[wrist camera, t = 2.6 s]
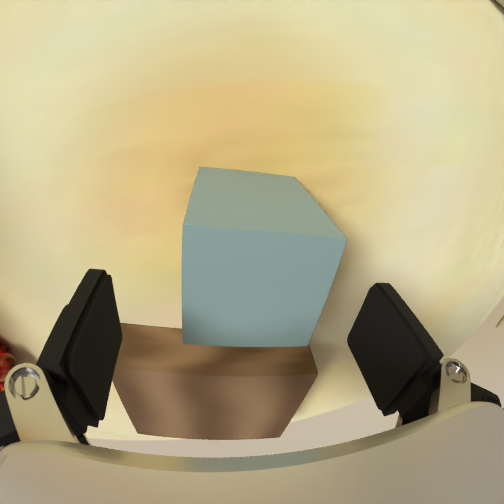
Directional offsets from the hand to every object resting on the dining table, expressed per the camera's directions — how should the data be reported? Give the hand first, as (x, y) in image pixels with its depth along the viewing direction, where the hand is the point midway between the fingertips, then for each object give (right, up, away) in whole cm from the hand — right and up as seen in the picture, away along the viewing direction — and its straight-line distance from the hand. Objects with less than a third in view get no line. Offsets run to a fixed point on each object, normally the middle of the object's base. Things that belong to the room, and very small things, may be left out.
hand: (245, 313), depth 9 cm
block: (0, +4, +6) cm, 7 cm away
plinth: (-3, -9, +13) cm, 16 cm away
